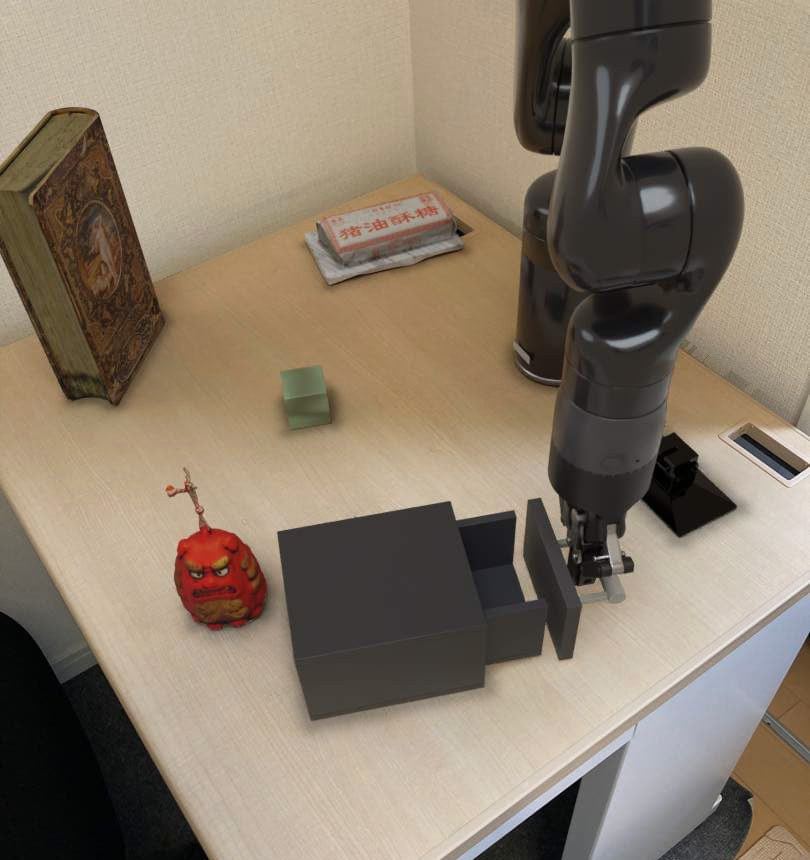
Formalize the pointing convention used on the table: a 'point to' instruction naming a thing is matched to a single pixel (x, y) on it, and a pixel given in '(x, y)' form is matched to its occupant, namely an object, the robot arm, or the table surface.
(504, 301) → the table surface
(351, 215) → the packaged product
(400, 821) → the table surface
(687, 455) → the build plate
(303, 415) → the block
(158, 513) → the table surface
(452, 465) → the table surface
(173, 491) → the red clay folk toy
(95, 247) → the book
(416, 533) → the cabinet
